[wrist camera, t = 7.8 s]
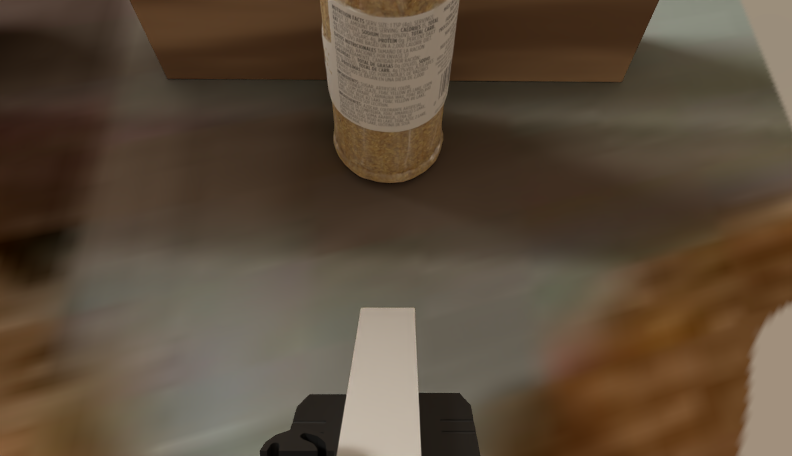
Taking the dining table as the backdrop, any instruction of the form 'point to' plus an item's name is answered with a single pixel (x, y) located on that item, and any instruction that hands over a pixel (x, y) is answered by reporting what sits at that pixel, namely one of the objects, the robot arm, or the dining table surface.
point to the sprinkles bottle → (388, 82)
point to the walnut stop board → (472, 54)
